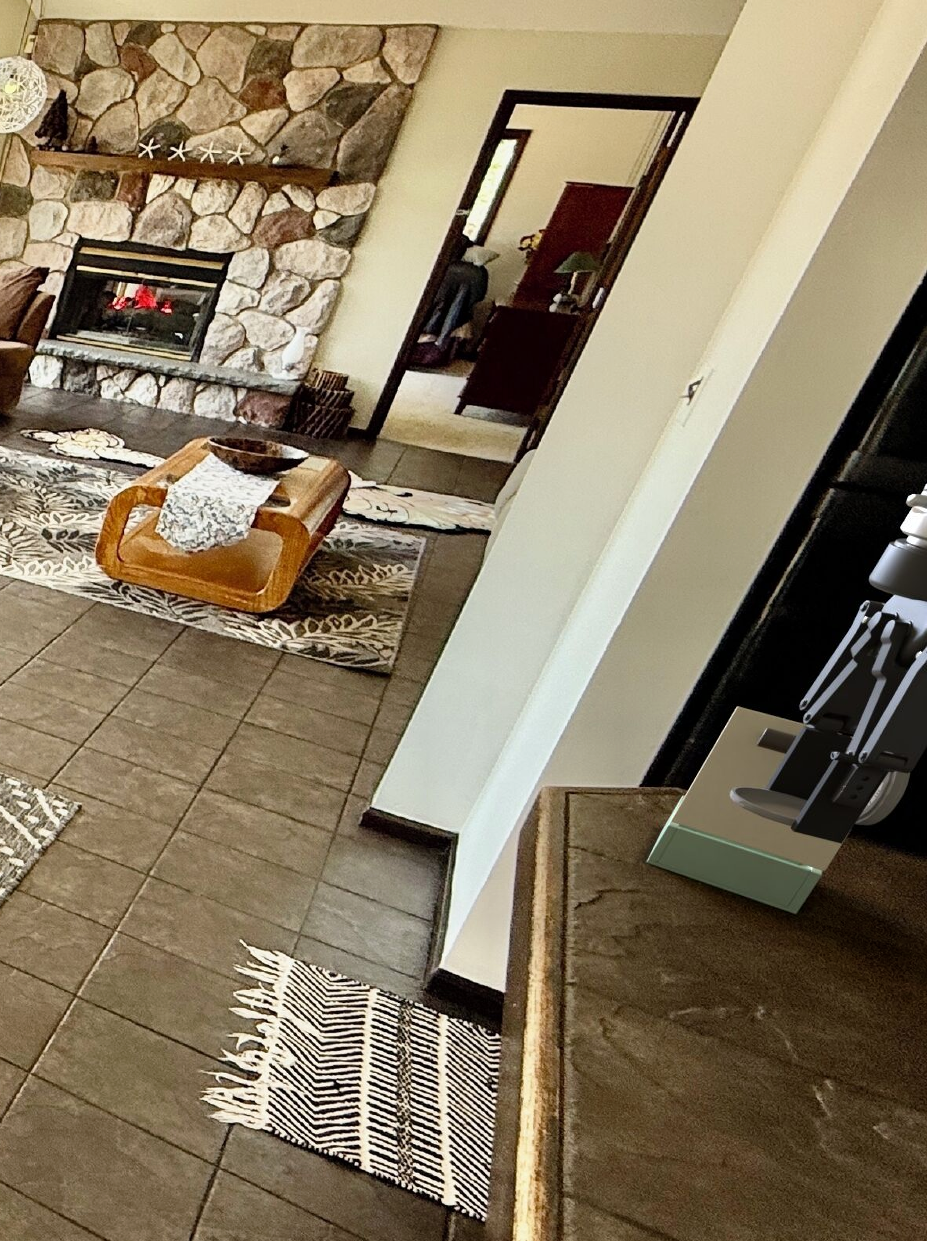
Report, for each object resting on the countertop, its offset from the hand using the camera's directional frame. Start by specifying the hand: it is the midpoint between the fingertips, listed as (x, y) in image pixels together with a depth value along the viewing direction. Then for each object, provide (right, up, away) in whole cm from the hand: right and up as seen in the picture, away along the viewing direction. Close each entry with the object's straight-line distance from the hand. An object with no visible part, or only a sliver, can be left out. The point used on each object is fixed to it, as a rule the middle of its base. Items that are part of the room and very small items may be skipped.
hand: (800, 817), depth 95 cm
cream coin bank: (+15, +1, +14) cm, 21 cm away
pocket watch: (0, -1, 0) cm, 1 cm away
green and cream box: (+17, -8, +21) cm, 28 cm away
